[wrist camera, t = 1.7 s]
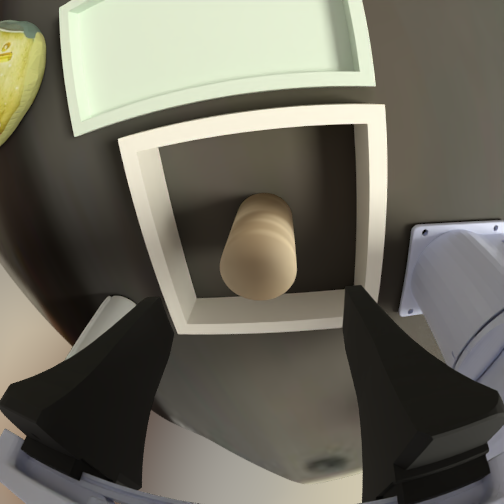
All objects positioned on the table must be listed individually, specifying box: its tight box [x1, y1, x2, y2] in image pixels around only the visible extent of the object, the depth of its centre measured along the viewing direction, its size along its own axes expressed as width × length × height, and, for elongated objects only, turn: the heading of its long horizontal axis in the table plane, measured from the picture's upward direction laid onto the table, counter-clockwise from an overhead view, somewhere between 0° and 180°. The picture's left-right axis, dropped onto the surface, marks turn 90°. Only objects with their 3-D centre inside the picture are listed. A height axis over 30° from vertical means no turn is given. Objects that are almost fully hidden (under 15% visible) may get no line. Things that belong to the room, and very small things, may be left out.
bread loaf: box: [220, 193, 297, 301], centre depth 16 cm, size 4×4×6 cm
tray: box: [59, 0, 376, 137], centre depth 12 cm, size 18×10×2 cm, turn 98°
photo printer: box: [64, 296, 136, 361], centre depth 21 cm, size 10×4×12 cm, turn 155°
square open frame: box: [118, 103, 387, 334], centre depth 18 cm, size 14×14×3 cm
